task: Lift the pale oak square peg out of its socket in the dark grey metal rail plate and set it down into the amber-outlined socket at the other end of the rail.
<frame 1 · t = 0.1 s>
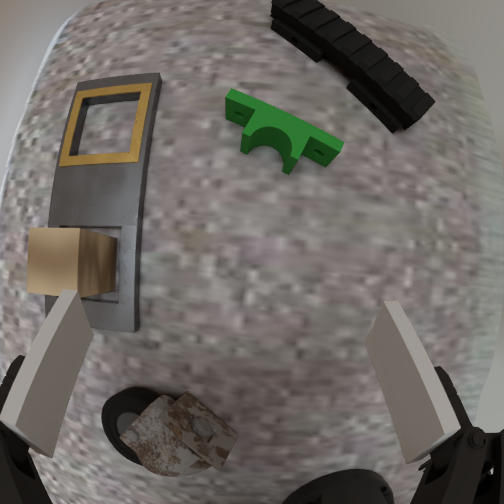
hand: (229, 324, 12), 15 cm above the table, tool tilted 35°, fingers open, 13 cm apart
oak peg: (93, 263, 27), resting in rail plate
pipe clamp: (271, 147, 29), on the table
rail plate: (99, 192, 27), on the table
caster wheel: (163, 422, 27), on the table
rail mount: (343, 64, 31), on the table
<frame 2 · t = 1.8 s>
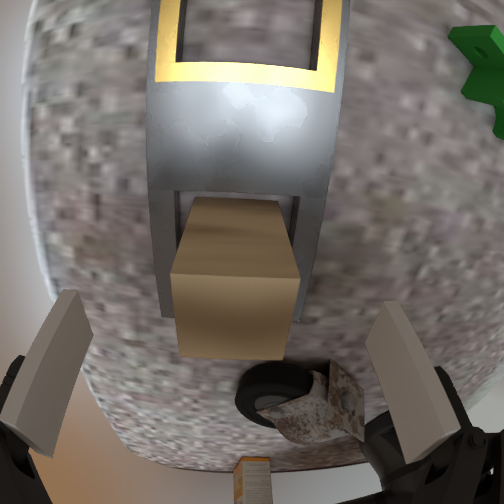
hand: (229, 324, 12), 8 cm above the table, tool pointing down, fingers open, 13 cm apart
oak peg: (234, 234, 20), resting in rail plate
pipe clamp: (486, 95, 15), on the table
rail plate: (241, 125, 16), on the table
caster wheel: (293, 381, 29), on the table
supplement box: (250, 462, 42), on the table
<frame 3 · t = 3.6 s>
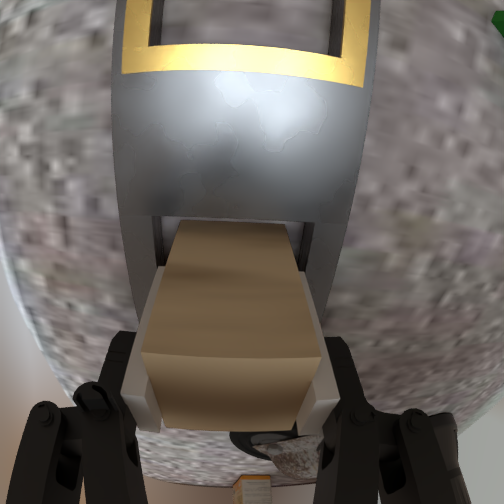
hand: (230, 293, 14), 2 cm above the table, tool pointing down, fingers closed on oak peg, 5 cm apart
oak peg: (230, 265, 16), resting in rail plate, touching gripper
rail plate: (238, 128, 12), on the table
caster wheel: (292, 413, 26), on the table
supplement box: (249, 479, 39), on the table
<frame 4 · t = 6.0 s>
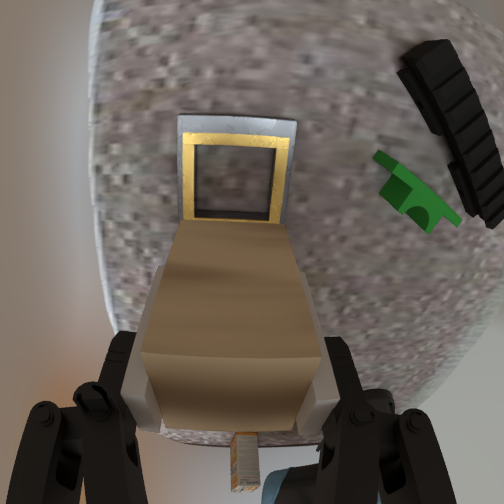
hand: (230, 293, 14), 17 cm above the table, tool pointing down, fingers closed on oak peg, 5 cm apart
oak peg: (230, 264, 16), point 14 cm above the table, touching gripper
pipe clamp: (403, 189, 29), on the table
rail plate: (230, 242, 32), on the table
supplement box: (242, 437, 59), on the table
rail mount: (454, 131, 26), on the table
when the fingers open (4 cm above the table, at t = 8.9 s): oak peg drops 2 cm, resting in rail plate.
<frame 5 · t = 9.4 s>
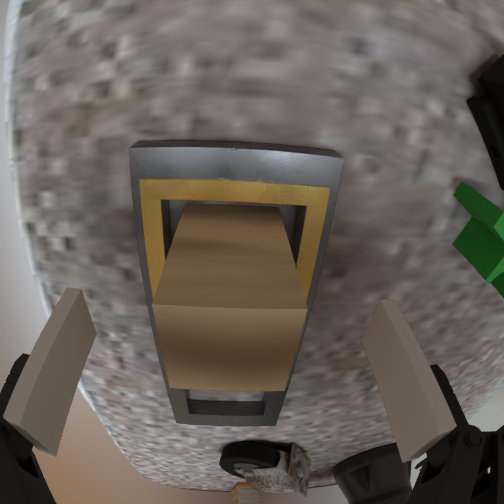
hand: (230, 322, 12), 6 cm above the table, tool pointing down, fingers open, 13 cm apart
oak peg: (230, 244, 18), resting in rail plate
pipe clamp: (479, 235, 18), on the table
rail plate: (227, 330, 21), on the table
caster wheel: (261, 449, 36), on the table
supplement box: (244, 485, 48), on the table
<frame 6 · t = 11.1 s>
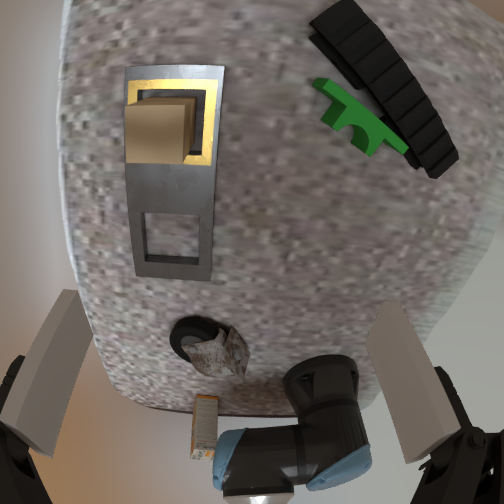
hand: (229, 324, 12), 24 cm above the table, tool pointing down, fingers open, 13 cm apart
oak peg: (172, 119, 29), resting in rail plate
pipe clamp: (347, 118, 30), on the table
rail plate: (171, 179, 33), on the table
caster wheel: (207, 334, 48), on the table
supplement box: (204, 402, 61), on the table
rail mount: (383, 85, 28), on the table
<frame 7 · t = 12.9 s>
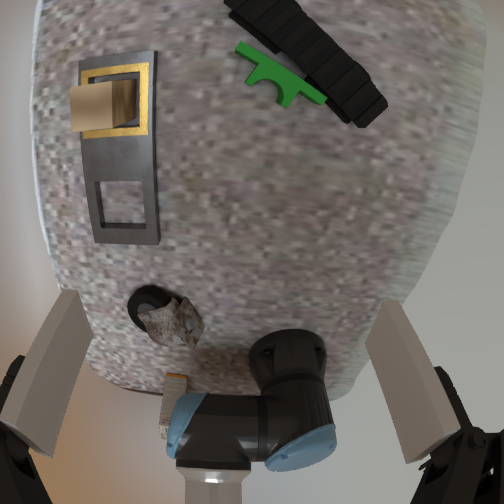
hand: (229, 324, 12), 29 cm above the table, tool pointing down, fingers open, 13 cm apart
oak peg: (117, 99, 32), resting in rail plate
pipe clamp: (271, 80, 32), on the table
rail plate: (119, 152, 35), on the table
caster wheel: (163, 306, 50), on the table
supplement box: (176, 382, 62), on the table
rail mount: (305, 49, 30), on the table
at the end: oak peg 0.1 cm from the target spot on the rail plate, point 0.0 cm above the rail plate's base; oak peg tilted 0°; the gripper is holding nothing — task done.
